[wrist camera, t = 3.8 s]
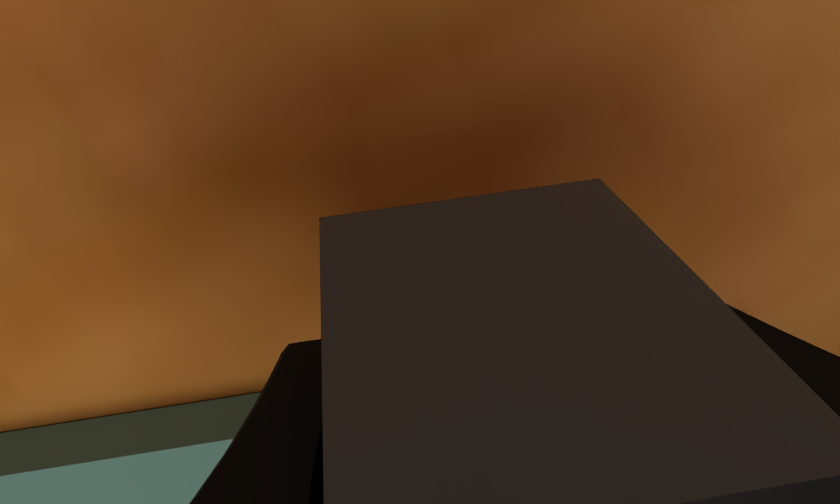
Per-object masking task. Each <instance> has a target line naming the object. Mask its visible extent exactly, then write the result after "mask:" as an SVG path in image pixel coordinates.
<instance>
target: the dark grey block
mask: <svg viewBox="0 0 840 504" xmlns="http://www.w3.org/2000/svg"><path fill="white" fill-rule="evenodd" d="M319 222H320V289H321V355H322V422H323V489H324V504H840V417H839V416H838V415H837V414H836V413H835V412H834V411H833V410H832V409H831V408H830V407H829V406H828V405H827V404H826V403H825V402H824V401H823V400H822V399H821V398H820V397H819V396H818V395H817V394H816V393H815V392H814V391H813V390H812V389H811V388H810V387H809V386H808V385H807V384H806V383H805V382H804V381H803V380H802V379H801V378H800V377H799V376H798V375H797V374H796V373H795V372H794V371H793V370H792V369H791V368H790V367H789V366H788V365H787V364H786V363H785V362H784V361H783V360H782V359H781V358H780V357H779V356H778V355H777V354H776V353H775V352H774V351H773V350H772V349H771V348H770V347H769V346H768V345H767V344H766V343H765V342H764V341H763V340H762V339H761V338H760V337H759V336H758V335H757V334H756V333H755V332H754V331H753V330H752V329H751V328H750V327H749V326H748V325H746V324H745V323H744V322H743V321H742V320H741V319H740V318H739V317H738V316H737V315H736V314H735V313H734V312H733V311H732V310H731V309H730V308H729V307H728V306H727V305H726V304H725V303H724V302H723V301H722V300H721V299H720V298H719V297H718V296H717V295H716V294H715V293H714V292H713V291H712V290H711V289H710V288H709V287H708V286H707V285H706V284H705V283H704V282H703V281H702V280H701V279H700V278H699V277H698V276H697V275H696V274H695V273H694V272H693V271H692V270H691V269H690V268H689V267H688V266H687V265H686V264H685V263H684V262H683V261H682V260H681V259H680V258H679V257H678V256H677V255H676V254H675V253H674V252H673V251H672V250H671V249H670V248H669V247H668V246H667V245H666V244H665V243H664V242H663V241H662V240H661V239H660V238H659V237H658V236H657V235H656V234H655V233H654V232H653V231H652V230H651V229H650V228H649V227H648V226H647V225H646V224H645V223H644V222H643V221H642V220H641V219H640V218H639V217H638V216H637V215H636V214H635V213H634V212H633V211H632V210H631V209H630V208H629V207H628V206H627V205H626V204H625V203H624V202H623V201H622V200H621V199H620V198H619V197H618V196H617V195H616V194H614V193H613V192H612V191H611V190H610V189H609V188H608V187H607V186H606V185H605V184H604V183H603V182H602V181H601V180H600V179H592V180H585V181H578V182H571V183H564V184H557V185H550V186H542V187H535V188H528V189H521V190H514V191H507V192H500V193H493V194H486V195H479V196H471V197H464V198H457V199H450V200H443V201H436V202H429V203H422V204H415V205H407V206H400V207H393V208H386V209H379V210H372V211H365V212H358V213H351V214H343V215H336V216H329V217H322V218H319Z"/></svg>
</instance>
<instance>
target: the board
mask: <svg viewBox="0 0 840 504" xmlns="http://www.w3.org/2000/svg"><path fill="white" fill-rule="evenodd" d="M260 394H261V392H260V393H253V394H247V395H240V396H234V397H228V398H221V399H215V400H208V401H202V402H196V403H189V404H183V405H176V406H170V407H164V408H157V409H151V410H144V411H138V412H132V413H125V414H119V415H113V416H106V417H100V418H93V419H87V420H81V421H74V422H68V423H61V424H55V425H49V426H42V427H36V428H29V429H23V430H17V431H10V432H4V433H0V504H189V503H190V502H191V501H192V499H193V498H194V496H195V495H196V493H197V492H198V491H199V489H200V488H201V486H202V485H203V484H204V482H205V481H206V479H207V478H208V476H209V475H210V474H211V472H212V471H213V469H214V468H215V466H216V465H217V464H218V462H219V461H220V459H221V458H222V456H223V455H224V453H225V452H226V450H227V449H228V447H229V446H230V444H231V442H232V441H233V439H234V437H235V436H236V434H237V433H238V431H239V429H240V428H241V426H242V424H243V423H244V421H245V419H246V418H247V416H248V415H249V413H250V411H251V410H252V408H253V406H254V404H255V403H256V401H257V399H258V397H259V396H260Z"/></svg>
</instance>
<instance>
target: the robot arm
mask: <svg viewBox="0 0 840 504" xmlns="http://www.w3.org/2000/svg"><path fill="white" fill-rule="evenodd" d="M726 305H727V304H726ZM727 306H728V307H729V308H730V309H731V310H732V311H733V312H734V313H735V314H736V315H737V316H738V317H739V318H740V319H741V320H742V321H743V322H744V323H745V324H746V325H748V326H749V327H750V328H751V329H752V330H753V331H754V332H755V333H756V334H757V335H758V336H759V337H760V338H761V339H762V340H763V341H764V342H765V343H766V344H767V345H768V346H769V347H770V348H771V349H772V350H773V351H774V352H775V353H776V354H777V355H778V356H779V357H780V358H781V359H782V360H783V361H784V362H785V363H786V364H787V365H788V366H789V367H790V368H791V369H792V370H793V371H794V372H795V373H796V374H797V375H798V376H799V377H800V378H801V379H802V380H803V381H804V382H805V383H806V384H807V385H808V386H809V387H810V388H811V389H812V390H813V391H814V392H815V393H816V394H817V395H818V396H819V397H820V398H821V399H822V400H823V401H824V402H825V403H826V404H827V405H828V406H829V407H830V408H831V409H832V410H833V411H834V412H835V413H836V414H837V415H838V416H839V417H840V357H839V356H836V355H834V354H832V353H830V352H827V351H825V350H823V349H821V348H818V347H816V346H814V345H812V344H810V343H807V342H805V341H803V340H801V339H799V338H797V337H794V336H792V335H790V334H788V333H786V332H784V331H782V330H779V329H777V328H775V327H773V326H771V325H769V324H767V323H765V322H762V321H760V320H758V319H756V318H754V317H752V316H750V315H748V314H746V313H744V312H741V311H739V310H737V309H735V308H733V307H731V306H729V305H727ZM189 504H324V489H323V422H322V355H321V339H318V340H311V341H305V342H298V343H292V344H288V346H287V347H286V348H285V349H284V350H283V352H282V353H281V355H280V357H279V359H278V361H277V363H276V365H275V367H274V369H273V371H272V373H271V375H270V377H269V379H268V381H267V383H266V385H265V387H264V388H263V390H262V392H261V394H260V396H259V397H258V399H257V401H256V403H255V404H254V406H253V408H252V410H251V411H250V413H249V415H248V416H247V418H246V419H245V421H244V423H243V424H242V426H241V428H240V429H239V431H238V433H237V434H236V436H235V437H234V439H233V441H232V442H231V444H230V446H229V447H228V449H227V450H226V452H225V453H224V455H223V456H222V458H221V459H220V461H219V462H218V464H217V465H216V466H215V468H214V469H213V471H212V472H211V474H210V475H209V476H208V478H207V479H206V481H205V482H204V484H203V485H202V486H201V488H200V489H199V491H198V492H197V493H196V495H195V496H194V498H193V499H192V501H191V502H190V503H189Z"/></svg>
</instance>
